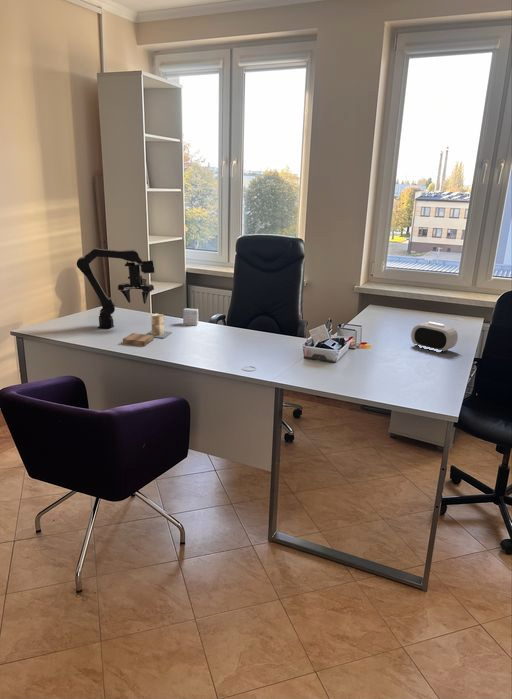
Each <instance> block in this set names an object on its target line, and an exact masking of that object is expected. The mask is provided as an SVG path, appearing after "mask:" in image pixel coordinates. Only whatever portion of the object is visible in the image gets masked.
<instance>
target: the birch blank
mask: <svg viewBox="0 0 512 699" xmlns="http://www.w3.org/2000/svg"><path fill="white" fill-rule="evenodd" d="M164 316H165V314H161V313H154V314H151V330H152V334H153V335H161V334H163V333H164V331H165V326H164V325H165V324H164V323H165V322H164V320H165V319H164V318H165V317H164Z"/></svg>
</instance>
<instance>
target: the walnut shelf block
mask: <svg viewBox="0 0 512 699" xmlns="http://www.w3.org/2000/svg"><path fill="white" fill-rule="evenodd" d="M146 334H147V333H135V332H134V333H133V332H132V333H131V334H129V335H127V336H125V337H124V338H123V339H122V344H123V345H127V346H128V345H130V346H136V347H137V346H140V347H145V346H146V347H147V345H149V344H150V343H152V342H153V341H154V338H153V335H146Z"/></svg>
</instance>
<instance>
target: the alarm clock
mask: <svg viewBox="0 0 512 699" xmlns="http://www.w3.org/2000/svg"><path fill="white" fill-rule="evenodd" d="M410 340H411V342H412V343H413V345H415V344H417V345H421V346H426V347H430V348H434V349H438V350H442V351H443V352H446V351H448V350H450V349H452V348H454V347H455V346H456V344H457V342H458V331H457V330H456V329H455V328H454V327H452V326H449V325H446V324H444V323H441V322H440V323H439V322H434V321H425V322H422V323H420V324H417V325H415V326H414V327H413V328H412V330H411V333H410Z"/></svg>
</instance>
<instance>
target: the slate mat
mask: <svg viewBox="0 0 512 699" xmlns="http://www.w3.org/2000/svg"><path fill="white" fill-rule="evenodd" d="M145 334H146V335H153V334H152V329H151V330H150V331H148V332H147V333H145ZM171 334H173V332H172V331H166V330H164V333H163V334H161V335H153V339H154V338H155V339H162V338H163V340H164V339H166V338H167V337H169V336H170V335H171ZM168 335H169V336H168Z"/></svg>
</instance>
